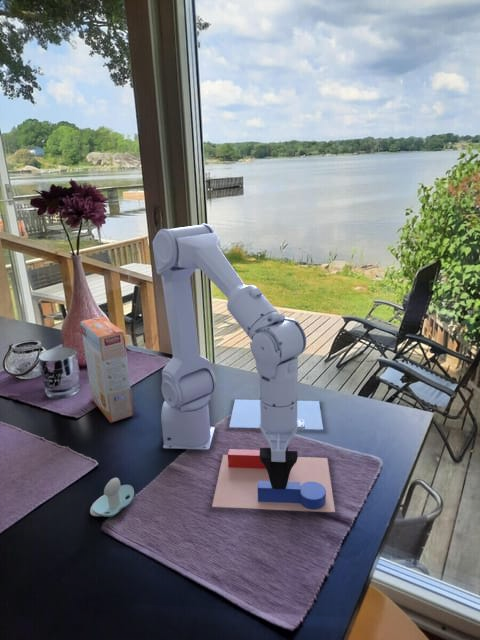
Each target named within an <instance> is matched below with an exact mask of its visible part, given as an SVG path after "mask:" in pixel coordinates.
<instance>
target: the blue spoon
mask: <svg viewBox="0 0 480 640" xmlns="http://www.w3.org/2000/svg"><path fill="white" fill-rule="evenodd" d="M258 502H280V503H301V505H302V506H304V507H305V508H308V509H312V510H315V509H320V508H322V507H323V506H324V505H325V503H326V489H325V488H324V486H323V485H321V484H320V483H317V482H305V483H303V484H302V485H301V486H300V482H288V483H287V486H286V489H273V488H272V486H271V483H270V481H258Z"/></svg>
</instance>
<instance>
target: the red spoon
mask: <svg viewBox="0 0 480 640" xmlns="http://www.w3.org/2000/svg"><path fill="white" fill-rule="evenodd" d="M227 455H228V467H231V468H260V469H266V467H265V466H264V464H263V463H262V462H261V460H260V449H241V448H240V449H237V448H232V449H231V448H228V451H227Z"/></svg>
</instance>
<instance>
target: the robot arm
mask: <svg viewBox="0 0 480 640" xmlns="http://www.w3.org/2000/svg"><path fill="white" fill-rule="evenodd" d="M152 251H153V257H154V258H153V259H154V264H155V269H156V274H157V275H159V276H160V277H161V283H162V290H163V298H164V304H165V305H164V306H165V311H166V318H167V325H168V332H169V339H170V345H171V353H172V357H171V359H169V361H168V362H167V364H166V365H165V366H164V367H163V369H162V370H161V377H162V378H161V379H162V381H161V387H160V388H161V394H162V397H163V399H164V401H163V404H162V407H161V413H160V414H161V416H160V419H161V430H162V432H161V433H162V441H163V445H162V448H163V449H176V450H177V449H179V450H181V449H182V450H209V449H210V448H211V444H212V440H213V437H214V432H215V430H216V427H214V426H211V422H210V421H211V420H210V407H209V406H210V405H209V401H210V400H212V394H213V393H215V392H216V389H217V378H216V376H215V373H214V371H213V367H212V361H210V360H209V359H208V358H207V357H205V356H203V355H201V354H200V353H201V352H200V346H199V338H198V330H197V323H196V314H195V306H194V298H193V292H192V283H191V276H192V275H193V274H194V272H195V271H197V269H198V270H200V271H201V272H202V273H203V274H204V275H205V276H206V277H207V278H208V279H209V280H210V281H211V282H212V283H213V284H214V285H215V287H216V288H217V289H219V291H220V292H221V293H222V294H223V295H224V296H225V297H226V298H227V304H226V309H227V311H228V312H229V314H230V315H231V316H232V317H233V319H234V320H235V321H236V322H237V324H238V325H239V326H240V327H241V329H242V330H243V331H244V333H245V334H246V335H247V336H248V338H249V339H250V340H251V341H250V342H249V348H250V352H251V354H252V356H253V358H254V361H255V366H256V367H255V369H256V370H257V374H258V375H259V400H260V414H261V420H260V422H259V426H260V428H259V430H260V432H261V434H262V436H263V437H264V439H265V440H266V443H267V445H268V446H269V447H260V448H259V450H260V460H261V462H262V463H263V464H264V466H265V467H266V469H267V472H268V475H269V479H270V483H271V486H272V488H273V489H286V486H287V483H288V479H289V474H290V471H291V469H292V467H293V466H294V464H295V463H296V461H297V458H298V457H299V454H298V453H299V451H298V450H289V445H290V444H291V442H292V440H293V439H294V437H295V436H296V434H297V432H298V431H304V430H306V429H305V422H304V420H298V419H297V401H298V390H299V389H298V386H299V385H298V383H299V381H298V379H299V376H298V375H299V357H298V356H299V355H301V354H303V353H304V351H306V347H307V335H306V333H305V330H304V328H303V327H302V326H301V324H300V322H299V321H298V320H297V319H294V318H292V317H287V316H286V315H285V314H283V313H281V314H280V313H279V311H278V310H277V309H276V308H275V307H274V305H273V304H271V302H270V300H268V298H266V296H265V295H264V293H263V292H262V290H261V289H260V287H257V286H256V285H253V284H252V285H251V284H249V285H247V284H245V283H244V281H243V280H242V278H241V277H240V275H239V274H238V273H237V271H236V270H235V268H234V267H233V266H232V264H231V263H230V261H229V260H228V259H227V257H226V256H225V254H224V253H223V252H222V250H221V240H220V236H219V235H218V234H217V233H216V232H215V230H214V228H213V227H212V226H211V225H210V224H209V223H200V224H198V225H197V224H196V225H191V226H190V225H189V226H184V227H175V228H161V229H159V230H158V231H157V233H156V234H155V236H154V238H153V240H152Z"/></svg>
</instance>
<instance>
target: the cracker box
mask: <svg viewBox="0 0 480 640" xmlns="http://www.w3.org/2000/svg"><path fill="white" fill-rule="evenodd" d="M80 329H81V335H82V343H83V348H84V356H85V362H86V367H87V368H86V369H87V375H88V382H89V389H90V396H91V400H92V401H93V403H94V404H95V405H96V407H97V408H98V409H99V410H100V412H101V413H102V414H103V416H104V417H105V418H106V419H107V420H108V422H109V423H110V424H113V423H115V422H118V421H121V420H125V419H128V418H130V417H133V416H134V406H133V399H132V391H131V383H130V380H131V379H130V372H129V367H128V366H129V364H128V355H127V346H126V338H125V332H124V330H122V329H120V328H119V327H118V326H116V325H115V324H114V323H113V322H111V321H110V320H108V319H107V318H106V317H104V316H98V317H93V318H88V319H83V320H80Z"/></svg>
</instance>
